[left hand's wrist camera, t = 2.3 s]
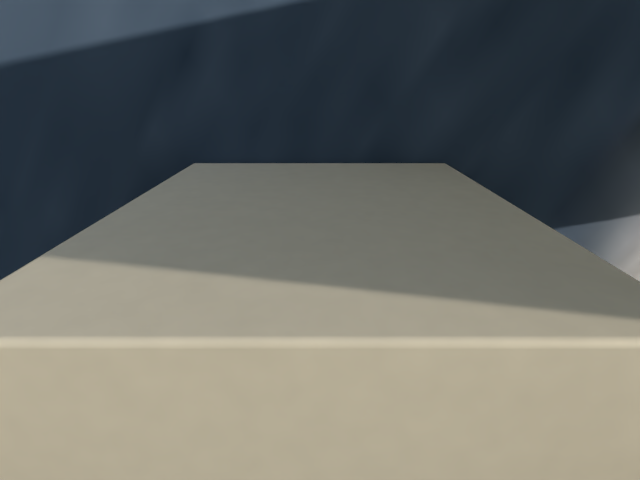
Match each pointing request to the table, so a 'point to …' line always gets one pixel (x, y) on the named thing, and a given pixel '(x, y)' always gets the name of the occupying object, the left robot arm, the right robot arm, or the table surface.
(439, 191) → the box
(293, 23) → the table surface
